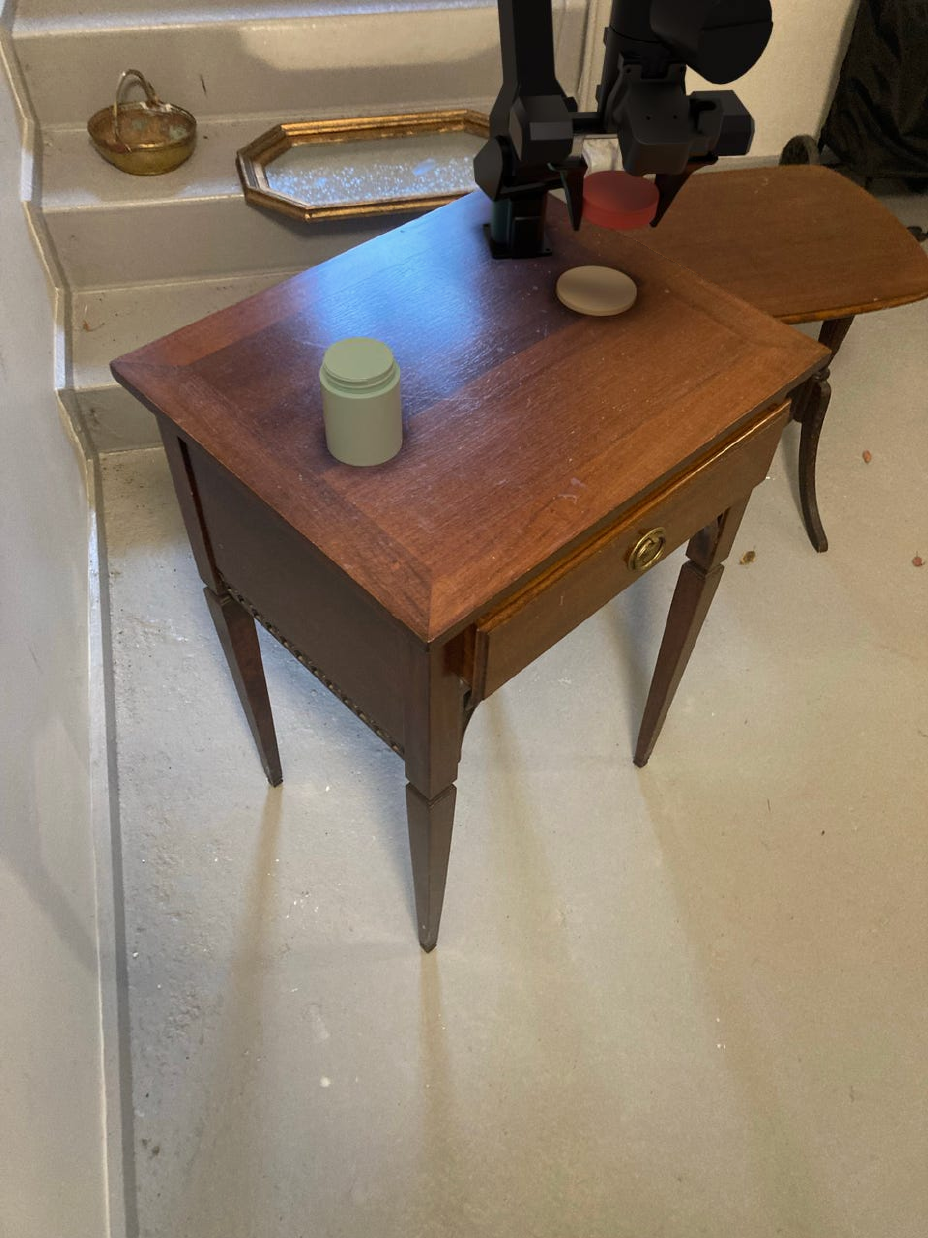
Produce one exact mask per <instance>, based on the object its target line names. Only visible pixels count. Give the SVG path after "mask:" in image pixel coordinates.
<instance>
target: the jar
mask: <svg viewBox="0 0 928 1238" xmlns="http://www.w3.org/2000/svg"><path fill="white" fill-rule="evenodd" d="M321 360H322V364H321V366H320V367H319V371H318V379H319V389H320V397H321V406H322V415H323V424H324V432H325V439H326V440H325V441H326V447H327V450H328V451H329V453H330V454H331V455H332V457H334V458H335V459H336V460H337V461H339V462H341V463H343V464H346V465H349V466H353V467H374V466H378V465H381V464H384V463H386V462H388V461H390V460H392V459H393V458H394V457H396V456H397V455H398V453H399V452H400V451H401V449H402V446H403V443H404V437H403V436H404V433H403V432H404V431H403V401H402V398H403V397H402V372H401V366H400V364H399V363H398V362H397V360H396V358H395V355H394V352H393V350H392V349H391V348H390V346H389V345H387V344H386V343H385V342H383V341H381V340H379V339H377V338H372V337H369V336H353V337H352V336H351V337H346V338H343V339H341V340H338V341H336V342H334V343H333V344H331V345H330V346H329V347H328V348H327V349H326V351H325V353H324V355H323V357H322V359H321Z"/></svg>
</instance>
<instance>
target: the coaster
mask: <svg viewBox="0 0 928 1238" xmlns="http://www.w3.org/2000/svg"><path fill="white" fill-rule="evenodd" d="M555 292H556V295H557V298H558V299H559V301H560V302H561V303H562V304H563V305H564V306H566V307H567V308H569V309H570V310H573V311H575V312H577V313H580V314H583V315H588V316H594V317H595V316H596V317H608V316H615V315H618V314H621V313H623V312H626V311H628V310H629V309H631V308H632V306H633V305H634V304H635V302H636V299H637V294H638V289H637V286H636V283H635V282H634V281H633V280H632V279H631V278H630V277H629V276H628V275H626V274H625V273H623V272H621V271H619V270H617V269H614V268H610V267H606V266H600V265H582V266H578V267H574V268H571V269H569V270H567V271H565V272H563V273H562V274H561V275H560V276H559V278H558V279H557V282H556V288H555Z"/></svg>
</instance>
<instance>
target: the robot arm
mask: <svg viewBox="0 0 928 1238" xmlns="http://www.w3.org/2000/svg"><path fill="white" fill-rule="evenodd" d="M496 2H497V16H498V29H499V30H498V31H499V42H500V43H499V44H500V55H501V69H502V84H501V87H500V88H499V92H498V94H497V96H496V99H495V101H494V103H493V106H492V108H491V111H490V113H489V116H488V129H489V133H488V135H489V139H488V141H487V142H486V143H485V144H484V145H483V146H482V148H481V149H480V150H479V151H478V153H476V155H475V156H474V158H472V165H473V166H472V167H473V177H474V182H475V184H476V185H477V186H478V187H479V188H480V190H481V191H482V192H483V193H484V194H485V195H486V196H487V198H488V199H489V200H490V201H491V214H490V215H491V217H490V222H486V223H483V224H482V225H481V226H482V228H481V230H482V233H483V235H484V239H485V242H486V245H487V248H488V251H489V254H490V257H491V259H493V260H509V259H522V258H523V259H524V258H537V257H538V258H539V257H540V258H541V257H550V256H553V253H554V252H553V251H554V249H553V246H552V245H551V242H550V239H549V237H548V234H547V232H546V223H547V215H548V203H549V193H550V191H555V190H560V189H562V190H563V191H564V195H565V196H564V197H565V200H566V205H567V209H568V213H569V218H570V224H571V227H572V230H573V232H574V233H575V232H579V231H580V228H581V222H582V218H583V217H582V202H583V183H584V178H585V175H586V174H587V171H588V169H589V165H588V163H587V160H586V158H585V156H584V154H583V148H584V142H585V141H588V140H589V141H590V140H617V141H618V146H619V151H620V156H621V164H622V168H623V171H625V172H626V173H628V174H629V175H631V176H634V177H645V176H647V175H655V176H654V182H653V183H654V184H655V185H656V187H657V188H658V190H659V200H658V205H657V210H656V214H655V217H654V219H653V220H652V221H651V222H650V223H648V225H649V226H650V228H651V229H653V228H657V227H658V225H659V224H660V222H661V220H662V219H663V218H664V216H665V214H666V213H667V211H668V209H669V208H670V206H671V204H672V203H673V202H674V199H675V198H676V196H677V195H678V193H679V191H680V190H681V189H682V187H683V186H684V185H685V184H686V182H687V181H688V179H689V178H690V177H691V176H692V175H693V173H695V172H697V171H699V170H701V169H702V168H705V167H707V166H708V167H709V166H715V164H717V163H718V161H719V158H721V157H744V156H746V155H748V154H749V153H750V151H751V149H752V144H753V141H754V136H755V133H756V121H755V119H754V117H753V116H752V115H751V113H750V112H749V110H748V108H747V107H746V106H745V104H744V103H743V102H742V99H740V98H739V96H738V95H737V93H736V92H735V91H734V89H712V90H692V92H690V94H687V85H686V84H687V83H686V75H687V71H688V67H689V68H690V70H692V71H694V72H695V73H696V74H697V75H698V76H700V77H701V78H702V79H704V80H705V81H706V82H708V83H711V84H712V85H719V86H724V85H727V84H730V83H732V82H735V81H737V80H739V79H740V78H742V77H744V76H745V75H746V74H747V73H749V71H750V70H751V69H753V67H754V66H755V65H756V64H757V62H758V61H759V60H760V58H761V57H762V55H763V53H764V52H765V50H766V49H767V47H768V45H769V42H770V39H771V37H772V33H773V29H774V21H773V7H772V3H771V0H612V2H611V7H610V8H611V9H610V14H609V23H608V26H605V27H604V30H603V38H602V42H603V44H604V46H605V52H604V57H603V64H602V72H601V78H600V84H599V83H598V84H596V87H595V95H594V99H595V101H596V103H597V107H596V111H579V105H578V103H577V100H576V98H575V96H573V95H572V96H568V95H567V93H566V92H565V90H564V89H563V87H562V85H561V83H560V81H559V80H558V78H557V74H556V64H555V63H556V62H555V61H556V60H555V43H554V42H555V41H554V22H553V21H554V20H553V0H496Z"/></svg>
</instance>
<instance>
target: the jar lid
mask: <svg viewBox="0 0 928 1238" xmlns="http://www.w3.org/2000/svg"><path fill="white" fill-rule="evenodd" d="M658 200H659V190H658V188H657V187H656V185H655V184H654V182H653V181H652V180H650V179H649V178H647V177H645V176H643V177H634V176H631V175H629V174H628V173H626V172H625V170H617V169H615V170H614V169H609V170H608V169H607V170H601V171H596V172H593V173H590V174H588V175H586V176H584V183H583V202H582V218H583V219H585V220H586V221H588V222H589V223H591V224H593V225H595V226H598V227H602V228H605V229H608V230H621V231H627V230H635V229H639V228H642V227H644V226H647V225H649V223H650V222H651V221H652V220H653V219H654V217H655V214H656V210H657V205H658Z"/></svg>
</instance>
